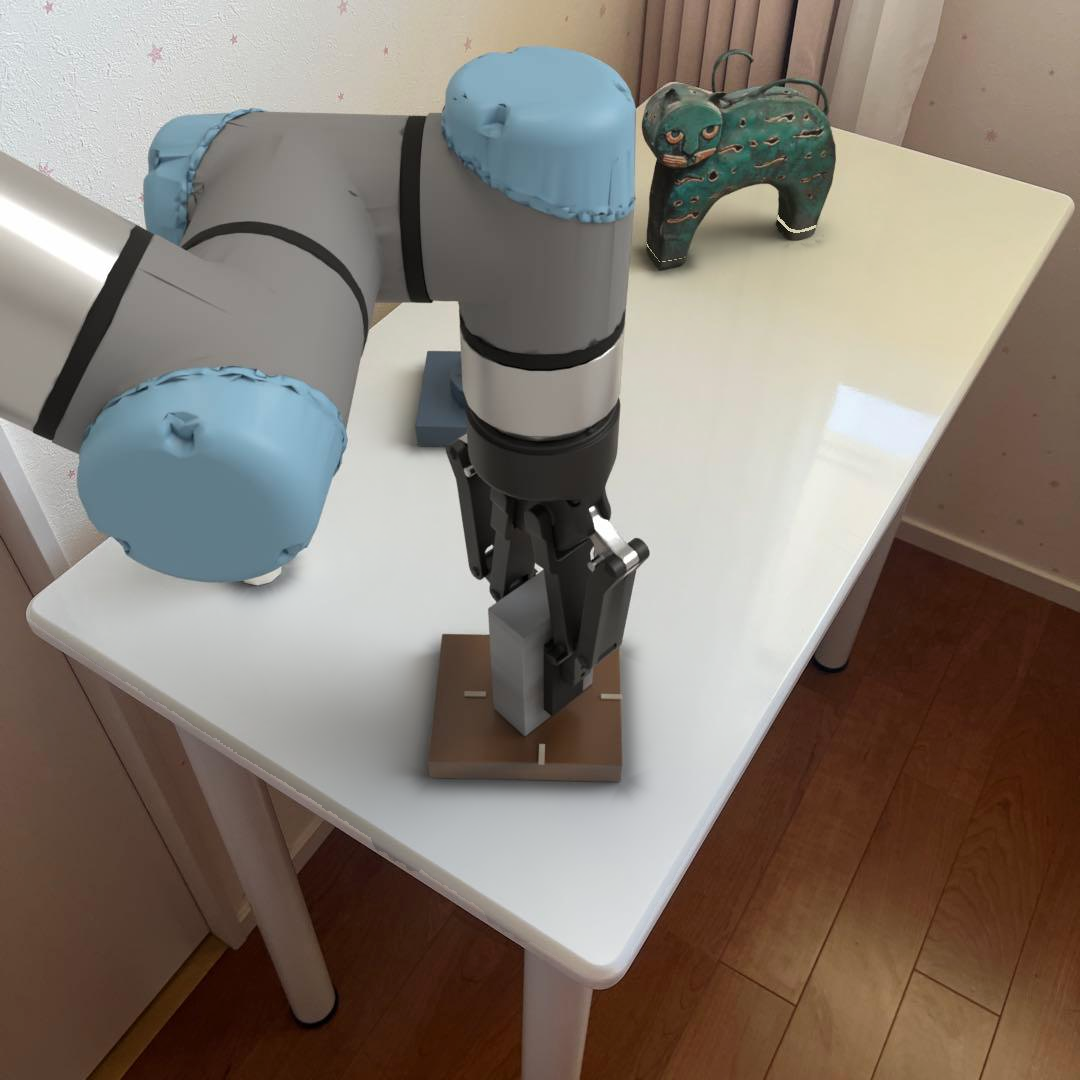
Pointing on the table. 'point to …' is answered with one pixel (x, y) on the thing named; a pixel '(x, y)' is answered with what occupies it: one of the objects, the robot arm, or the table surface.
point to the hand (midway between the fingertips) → (543, 682)
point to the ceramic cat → (734, 156)
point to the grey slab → (521, 654)
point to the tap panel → (498, 747)
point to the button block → (441, 400)
